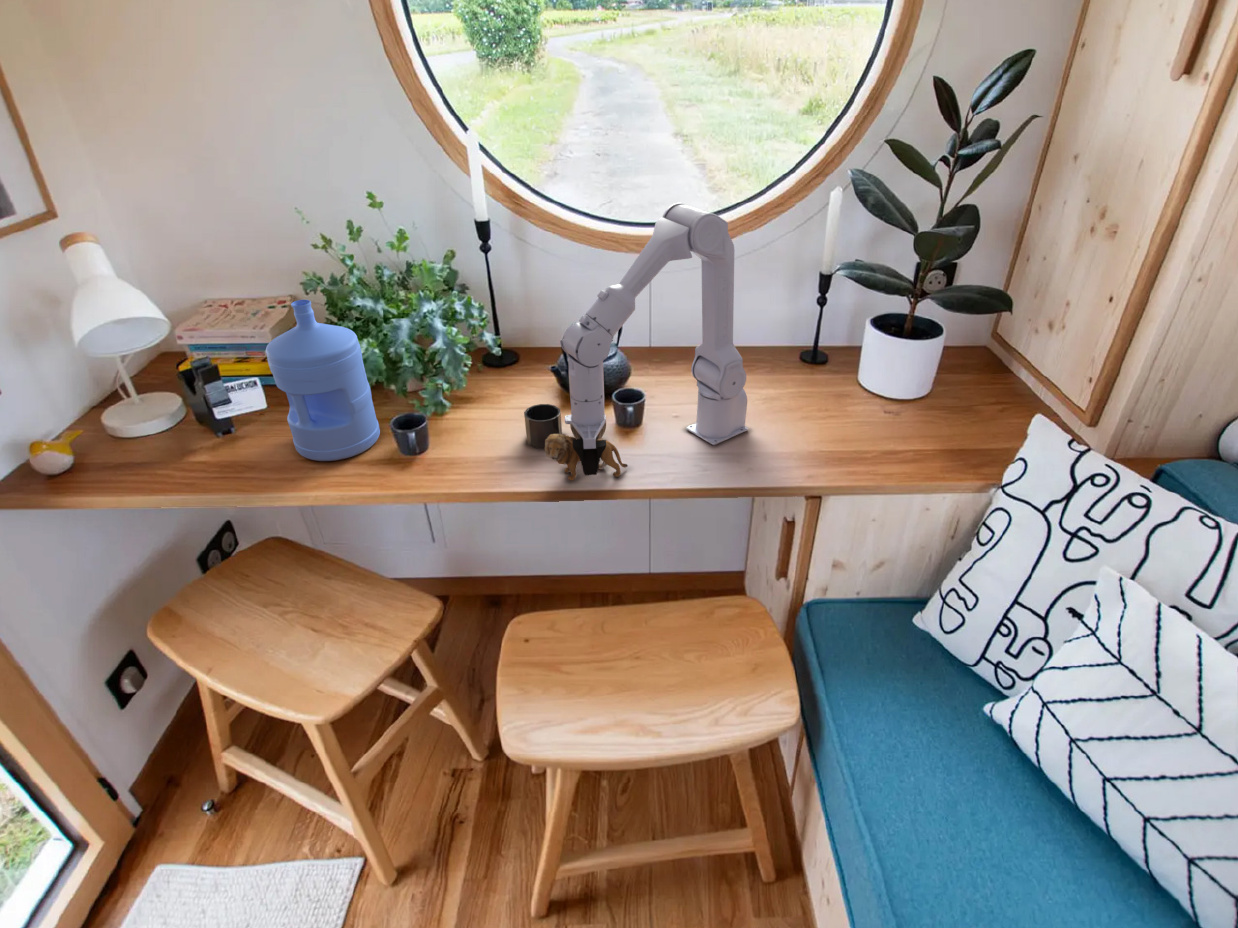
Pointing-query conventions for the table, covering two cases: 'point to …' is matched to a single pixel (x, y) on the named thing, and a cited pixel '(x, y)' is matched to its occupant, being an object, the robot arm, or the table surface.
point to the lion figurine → (564, 453)
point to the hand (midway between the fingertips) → (590, 462)
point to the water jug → (323, 387)
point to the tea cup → (541, 424)
